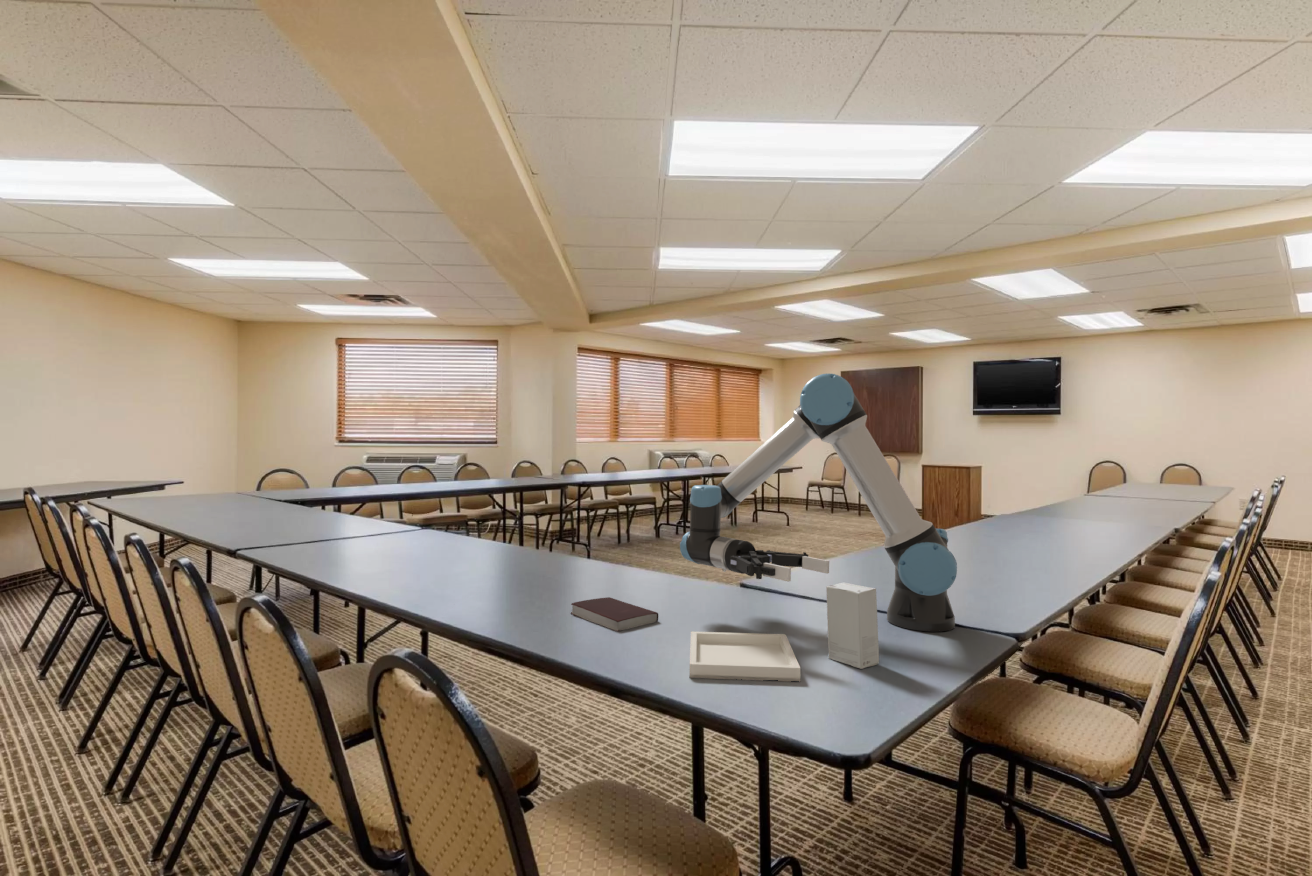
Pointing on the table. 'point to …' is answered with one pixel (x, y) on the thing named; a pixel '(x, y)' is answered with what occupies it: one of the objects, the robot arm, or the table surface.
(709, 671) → the tray
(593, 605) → the book
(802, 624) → the table surface
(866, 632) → the skincare box
